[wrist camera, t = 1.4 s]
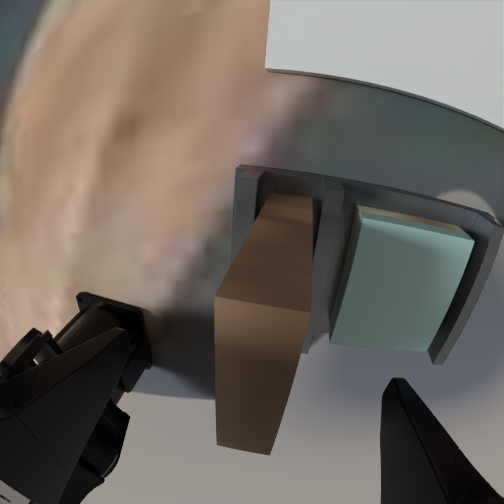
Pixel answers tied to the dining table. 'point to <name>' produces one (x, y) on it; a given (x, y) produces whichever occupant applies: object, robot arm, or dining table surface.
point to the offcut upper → (398, 283)
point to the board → (398, 48)
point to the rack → (339, 230)
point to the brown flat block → (263, 323)
